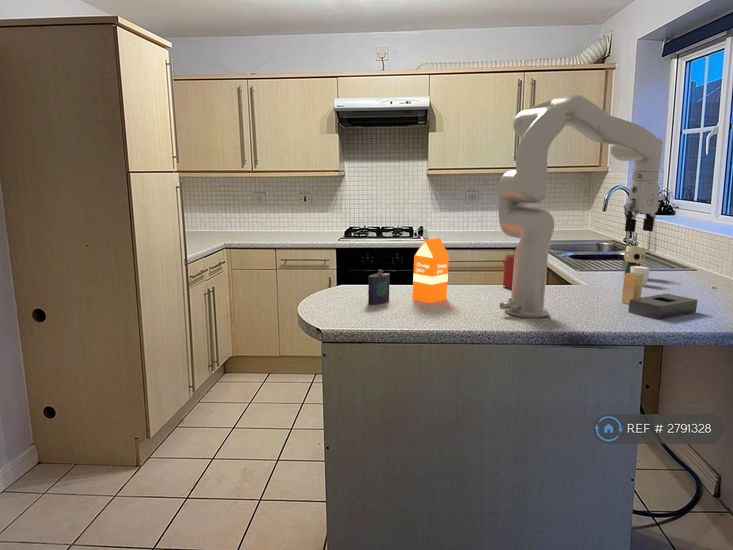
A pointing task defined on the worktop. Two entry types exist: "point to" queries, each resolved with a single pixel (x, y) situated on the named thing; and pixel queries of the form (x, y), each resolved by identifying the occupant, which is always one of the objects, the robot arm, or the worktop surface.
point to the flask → (378, 288)
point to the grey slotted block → (662, 306)
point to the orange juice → (430, 271)
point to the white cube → (641, 272)
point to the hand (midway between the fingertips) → (638, 231)
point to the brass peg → (632, 286)
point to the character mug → (634, 256)
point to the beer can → (508, 271)
